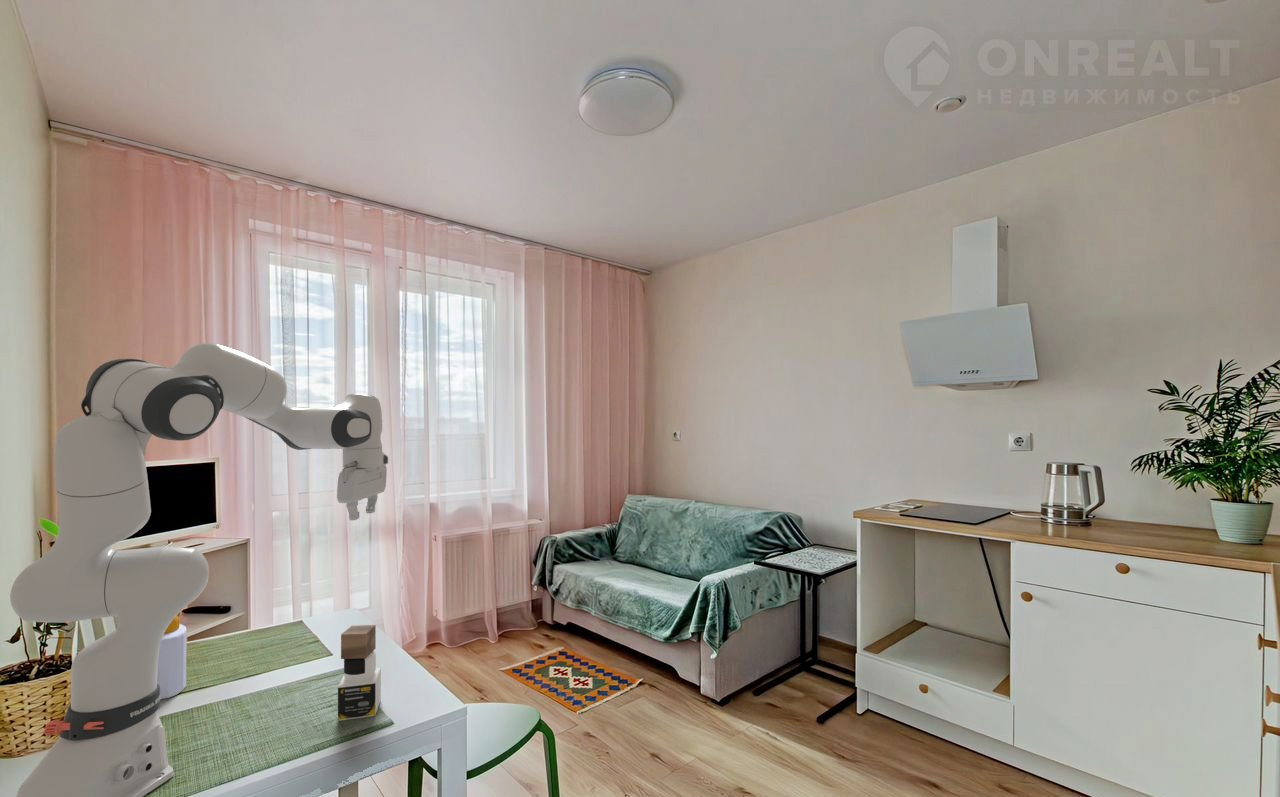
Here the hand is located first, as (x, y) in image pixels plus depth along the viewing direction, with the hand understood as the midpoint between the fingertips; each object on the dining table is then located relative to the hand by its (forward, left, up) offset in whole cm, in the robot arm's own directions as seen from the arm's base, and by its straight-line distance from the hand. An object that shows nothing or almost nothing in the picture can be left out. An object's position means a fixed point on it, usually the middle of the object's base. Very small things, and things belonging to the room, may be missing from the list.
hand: (362, 516), depth 144 cm
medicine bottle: (-21, -8, -37) cm, 43 cm away
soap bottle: (-8, +41, -37) cm, 56 cm away
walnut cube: (-21, -8, -25) cm, 34 cm away
